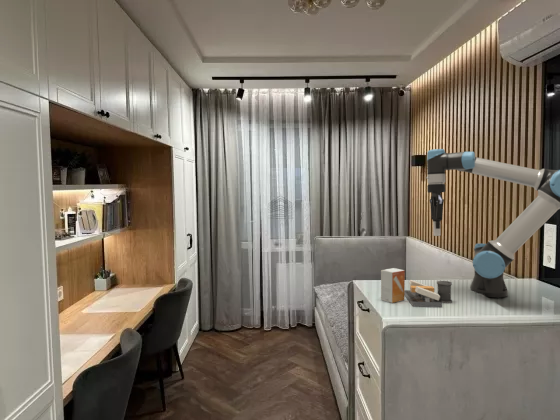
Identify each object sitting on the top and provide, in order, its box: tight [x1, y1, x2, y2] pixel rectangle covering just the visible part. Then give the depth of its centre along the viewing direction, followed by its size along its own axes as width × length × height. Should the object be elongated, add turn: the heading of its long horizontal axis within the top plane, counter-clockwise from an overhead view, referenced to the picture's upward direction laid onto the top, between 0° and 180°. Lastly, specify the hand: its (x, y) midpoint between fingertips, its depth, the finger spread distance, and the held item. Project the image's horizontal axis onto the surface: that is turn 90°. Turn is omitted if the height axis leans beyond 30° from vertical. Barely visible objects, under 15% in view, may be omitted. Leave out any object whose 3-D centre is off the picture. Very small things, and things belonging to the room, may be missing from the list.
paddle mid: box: [409, 285, 435, 293], centre depth 159 cm, size 9×3×2 cm, turn 83°
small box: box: [380, 267, 406, 304], centre depth 160 cm, size 8×6×13 cm
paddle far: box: [408, 279, 428, 287], centre depth 165 cm, size 9×3×2 cm, turn 82°
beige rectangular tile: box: [415, 286, 440, 301], centre depth 153 cm, size 9×3×2 cm, turn 83°
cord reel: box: [436, 280, 453, 304], centre depth 158 cm, size 6×6×8 cm
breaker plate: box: [404, 289, 443, 308], centre depth 159 cm, size 11×18×4 cm, turn 173°
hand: (437, 235), depth 171 cm, fingers closed
